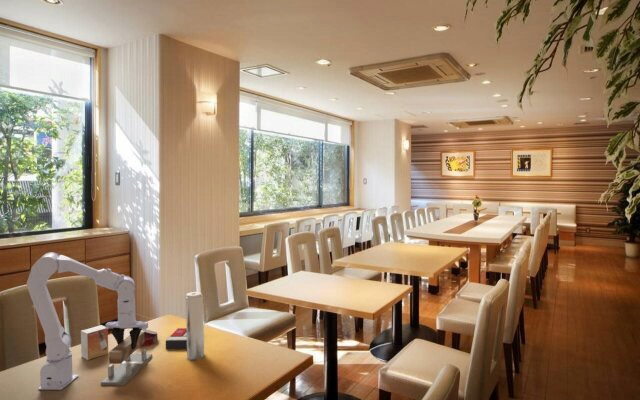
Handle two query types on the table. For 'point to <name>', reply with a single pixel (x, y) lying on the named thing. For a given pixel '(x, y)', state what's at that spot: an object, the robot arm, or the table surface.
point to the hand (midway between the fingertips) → (127, 348)
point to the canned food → (149, 338)
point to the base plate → (126, 369)
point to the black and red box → (177, 339)
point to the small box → (94, 342)
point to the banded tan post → (124, 349)
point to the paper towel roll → (194, 326)
